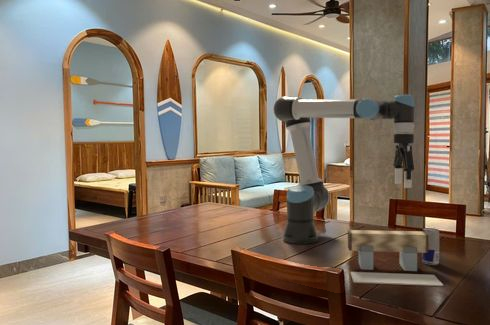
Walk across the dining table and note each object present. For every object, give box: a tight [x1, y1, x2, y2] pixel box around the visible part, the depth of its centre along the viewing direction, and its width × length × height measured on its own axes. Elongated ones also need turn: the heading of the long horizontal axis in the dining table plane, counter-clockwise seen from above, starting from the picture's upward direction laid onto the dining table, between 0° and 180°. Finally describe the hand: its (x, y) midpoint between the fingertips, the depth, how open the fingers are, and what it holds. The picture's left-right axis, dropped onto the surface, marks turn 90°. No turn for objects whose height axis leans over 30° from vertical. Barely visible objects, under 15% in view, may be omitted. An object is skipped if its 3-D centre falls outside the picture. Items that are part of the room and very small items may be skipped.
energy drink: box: [421, 227, 440, 266], centre depth 143 cm, size 5×5×12 cm
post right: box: [399, 247, 418, 272], centre depth 138 cm, size 4×7×8 cm, turn 171°
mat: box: [350, 271, 444, 287], centre depth 127 cm, size 26×9×1 cm, turn 81°
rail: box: [347, 229, 429, 254], centre depth 139 cm, size 26×5×6 cm, turn 81°
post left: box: [357, 245, 375, 271], centre depth 140 cm, size 4×7×8 cm, turn 171°
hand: (402, 185), depth 165 cm, fingers open, 13 cm apart
